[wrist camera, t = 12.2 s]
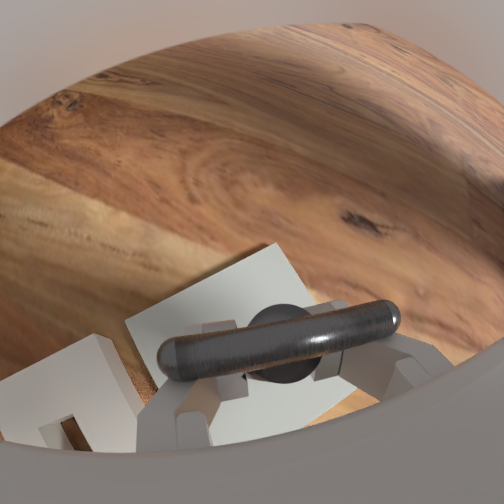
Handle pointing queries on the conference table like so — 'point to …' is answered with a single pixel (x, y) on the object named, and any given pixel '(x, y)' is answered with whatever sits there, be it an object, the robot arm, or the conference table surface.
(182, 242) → the conference table surface
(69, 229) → the conference table surface
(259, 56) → the conference table surface
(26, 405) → the white square-hole block
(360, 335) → the chuck key
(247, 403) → the rubber mat
